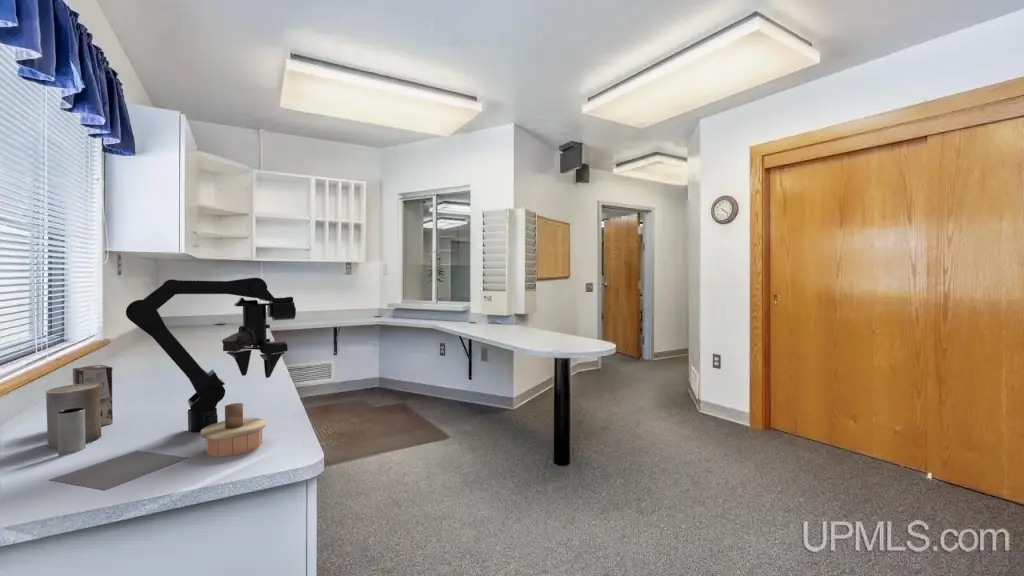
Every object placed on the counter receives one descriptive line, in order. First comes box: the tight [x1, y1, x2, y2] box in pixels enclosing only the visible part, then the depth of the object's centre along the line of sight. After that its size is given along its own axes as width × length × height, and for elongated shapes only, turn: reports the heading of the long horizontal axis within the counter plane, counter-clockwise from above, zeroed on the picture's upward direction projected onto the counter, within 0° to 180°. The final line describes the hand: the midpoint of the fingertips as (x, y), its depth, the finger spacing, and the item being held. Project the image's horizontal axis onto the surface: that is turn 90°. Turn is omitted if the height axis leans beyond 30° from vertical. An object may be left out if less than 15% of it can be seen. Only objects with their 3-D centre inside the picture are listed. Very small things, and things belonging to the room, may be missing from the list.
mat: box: [48, 449, 190, 491], centre depth 93 cm, size 16×16×1 cm
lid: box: [200, 402, 267, 440], centre depth 105 cm, size 13×13×6 cm
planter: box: [57, 408, 87, 457], centre depth 103 cm, size 4×4×10 cm
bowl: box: [205, 429, 263, 457], centre depth 105 cm, size 11×11×5 cm
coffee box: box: [72, 364, 114, 427], centre depth 126 cm, size 9×6×16 cm
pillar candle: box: [44, 382, 102, 449], centre depth 112 cm, size 10×10×15 cm
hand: (255, 376), depth 126 cm, fingers open, 9 cm apart
